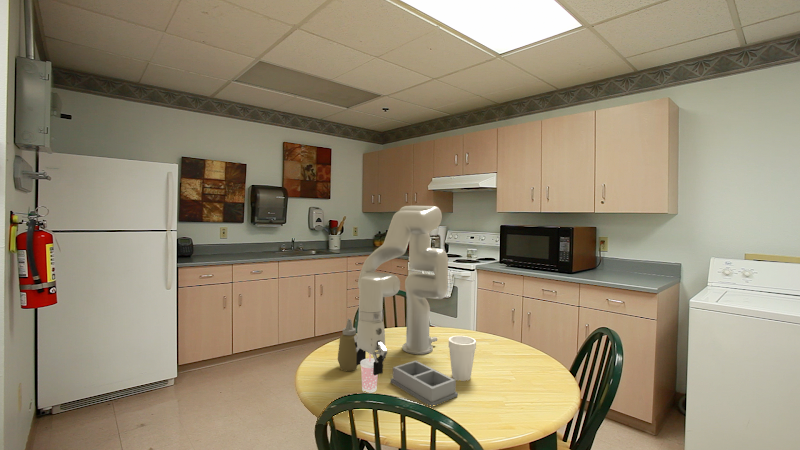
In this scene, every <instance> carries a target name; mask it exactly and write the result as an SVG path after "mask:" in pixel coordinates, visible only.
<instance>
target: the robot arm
mask: <svg viewBox="0 0 800 450" xmlns="http://www.w3.org/2000/svg"><path fill="white" fill-rule="evenodd" d="M442 217H443V214H442V210H441V209H440V208H439V207H438V206H434V205H404V206H402V207H400V209H399V210H398V211H397V212H395V213H394V214H393V216H392V218H391V221H390V224H389V226H388V229H387V232H386V235H385V238H384V242H383V243H382V245H380V246H379V247H378V248H376V249H374V251H372V253H370V255H368V256H367V258H366V259H365V260H364V262H363V263H362V267H361V270H360V272H359V276H358V279H357V287H358V291H359V292H358V293H359V294H358V299H359V300H358V322H357V330H356V334H357V335H355V336H354V340H355V346H356V352H357V359H356V364H357V365H358V366H361V365H360V362H361V360H363V359H367V358H366V356H367V355H366V354H369V353H370V354H371V356H372V358H374V360H375V362H374V365H373V374H374V375H378V376H379V375H381V374H383V371H384V361H385V360H386V357H387V354H388V349H387V348H386V331H385V324H384V320H383V321H382V310H383V311H384V308H383V307H384V306H383V305H384V304H383V303H384V300H383V299H384V298H388V297H389V298H390V297H393V296H396V295H397V294H398V292H399V290H400V289H401V280H400V278H399V277H398V276H397V275H396V274H392V273H387V272H386V273H385V272H377V271H376V270H377V269H378V268H379V267H380V266H381V265H382V264H384V263H386V262H388V261H391V260H394V259H396V258H399V257H402V256H403V255H405V254H406V252H407V249H408V248H409V249H408V250H409V251H408V252H409V253H408V257H409V258H408V259H409V260H408V262H409V264H408V265H409V267H410V268H411V269H412V270H414V271H415V270H416V271H421V272H432V273H434V274H431V273H430V274H429V273H421V272H420V273H419V272H414V273H411V274H410V273H409V274H408V275H407V276H406V278H405V281H404V288H405V289H404V290H405V293H406V295H405V296H406V335H405V336H406V339H405V340H406V341H405V342H404V343H403V344H402V351H404V352H405V353H408V354H411V355H425V354H430V353H431V352H432V351H433V349H434V347H433V345H432V343H435V342H437V341H438V337H437V336H432V337H431V336H430V322H431V321H430V319H431V318H430V316H431V307H430V303H429V302H428V300H427V299H436V300H442V299H444V298H445V297H446V296H447V292H448V281H449V278H448V275H449V274H448V273H449V259H448V258H449V257H448V254H447V252H446V250H444V249H442V248H438V247H437V248H436V247H431V235H430V233H431V232H432V231H434V230H436V229H437V228H438V227H439V226H440V225H441V222H442ZM408 246H409V247H408Z"/></svg>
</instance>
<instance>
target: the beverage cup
mask: <svg viewBox="0 0 800 450" xmlns="http://www.w3.org/2000/svg"><path fill="white" fill-rule="evenodd" d="M368 354H369V355H368V358H366V359H363V360H361V362H360V365H359V366H360V367H361V368H360V370H361V372H360V373H361V391H362V392H364V391H366V392H369V393H368V394H371V393H375V392H376V391H377V389H378V388H377V387H378V376H379V374H378V375H374V374H373V365H374V362H375V360H374V357H372V354H370V353H368ZM366 392H365V393H366Z"/></svg>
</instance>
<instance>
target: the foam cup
mask: <svg viewBox="0 0 800 450" xmlns="http://www.w3.org/2000/svg"><path fill="white" fill-rule="evenodd" d="M448 348H449V349H448V350H449V357H450V368H451V375H452V376H451V378H453V379H455V380H456V381H459V380H461V381H460V382H467V381H470V379H471V378H472V370H473V364H474V359H475V353H476V352H475V351H476V348H477V341H476V339H475V338H473V337H470V336H467V335H453V336H450V337H449V338H448ZM466 380H467V381H466Z"/></svg>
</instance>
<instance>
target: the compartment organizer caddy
mask: <svg viewBox="0 0 800 450" xmlns="http://www.w3.org/2000/svg"><path fill="white" fill-rule="evenodd" d="M456 381H457V380H456V379H454V378H453V377H452V376H451V377H450V376H449V375H446V374H444V373H442V372H440V371H438V370H436V369H434V368H432V367H431V366H428V365H426V364H424V363H421V362H420V361H418V360H412V361H409V362H406V363H403V364H399V365H396V366H393V367H392V378H390V383H391V384H392V385H394V386H395V387H398V388H399V389H400V390H402V391H404V392H405V393H408V394H409V395H411V396H412V397H413V398H416V399H417V400H419V401H420V400H421V401H420V402H422V403H424V404H425V403H426V405H427V404H428V405H427V406H429V405H431V406H429V407H430V408H433V407H432V406H433V405H436V406H438V405H437V404H439V405H441V404H443V403H442V402H444V401H446V402H448V401H450V400H449V399H451V400H453V399H455V398H454V397H456V398H458V397H457V396H459V395H458V393H459V392H457V391H456V387H457V386H456V384H457V382H456ZM452 398H453V399H452ZM447 400H448V401H447ZM440 403H441V404H440ZM444 403H445V402H444Z"/></svg>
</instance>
